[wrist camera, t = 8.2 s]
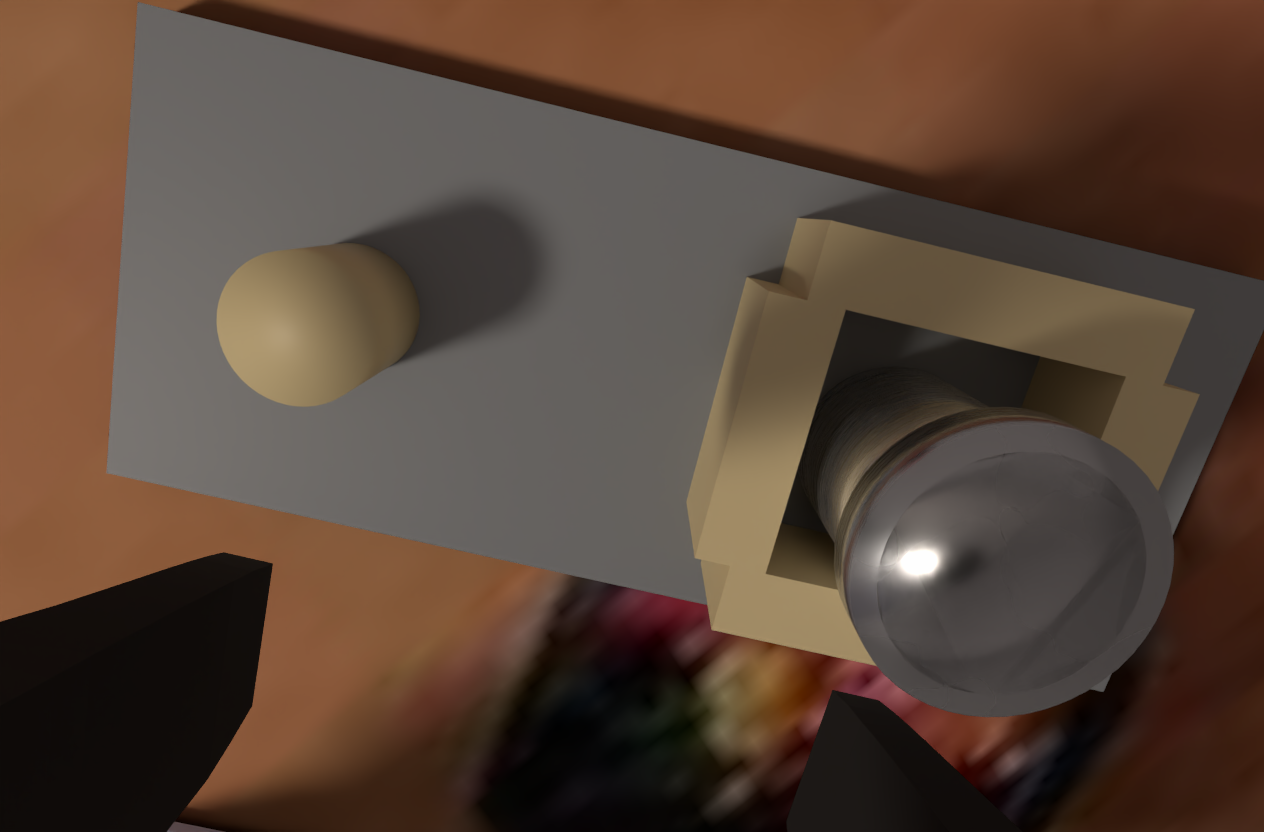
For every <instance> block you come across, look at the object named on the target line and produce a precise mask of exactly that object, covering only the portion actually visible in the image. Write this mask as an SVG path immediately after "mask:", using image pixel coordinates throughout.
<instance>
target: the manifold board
mask: <svg viewBox="0 0 1264 832" xmlns="http://www.w3.org/2000/svg"><path fill="white" fill-rule="evenodd" d="M1263 331H1264V281H1263V280H1258V279H1254V278H1250V277H1246V276H1242V275H1238V274H1234V273H1230V272H1226V271H1222V270H1218V269H1214V268H1210V267H1206V266H1202V265H1198V264H1194V263H1190V262H1186V261H1182V260H1178V259H1174V258H1170V257H1166V256H1162V255H1157V254H1153V253H1149V252H1145V251H1141V250H1137V249H1133V248H1129V247H1125V246H1121V245H1117V244H1113V243H1109V242H1105V241H1101V240H1097V239H1093V238H1089V237H1085V236H1081V235H1077V234H1073V233H1069V232H1065V231H1060V230H1056V229H1052V228H1048V227H1044V226H1040V225H1036V224H1032V223H1028V222H1024V221H1020V220H1016V219H1012V218H1008V217H1004V216H1000V215H996V214H992V213H988V212H984V211H980V210H976V209H972V208H968V207H964V206H959V205H955V204H951V203H947V202H943V201H939V200H935V199H931V198H927V197H923V196H919V195H915V194H911V193H907V192H903V191H899V190H895V189H891V188H887V187H883V186H879V185H875V184H871V183H867V182H862V181H858V180H854V179H850V178H846V177H842V176H838V175H834V174H830V173H826V172H822V171H818V170H814V169H810V168H806V167H802V166H798V165H794V164H790V163H786V162H782V161H778V160H774V159H770V158H766V157H761V156H757V155H753V154H749V153H745V152H741V151H737V150H733V149H729V148H725V147H721V146H717V145H713V144H709V143H705V142H701V141H697V140H693V139H689V138H685V137H681V136H677V135H673V134H669V133H665V132H660V131H656V130H652V129H648V128H644V127H640V126H636V125H632V124H628V123H624V122H620V121H616V120H612V119H608V118H604V117H600V116H596V115H592V114H588V113H584V112H580V111H576V110H572V109H568V108H563V107H559V106H555V105H551V104H547V103H543V102H539V101H535V100H531V99H527V98H523V97H519V96H515V95H511V94H507V93H503V92H499V91H495V90H491V89H487V88H483V87H479V86H475V85H471V84H467V83H462V82H458V81H454V80H450V79H446V78H442V77H438V76H434V75H430V74H426V73H422V72H418V71H414V70H410V69H406V68H402V67H398V66H394V65H390V64H386V63H382V62H378V61H374V60H370V59H365V58H361V57H357V56H353V55H349V54H345V53H341V52H337V51H333V50H329V49H325V48H321V47H317V46H313V45H309V44H305V43H301V42H297V41H293V40H289V39H285V38H281V37H277V36H273V35H269V34H264V33H260V32H256V31H252V30H248V29H244V28H240V27H236V26H232V25H228V24H224V23H220V22H216V21H212V20H208V19H204V18H200V17H196V16H192V15H188V14H184V13H180V12H176V11H172V10H167V9H163V8H159V7H155V6H151V5H147V4H143V3H139V2H138V7H137V22H136V37H135V52H134V67H133V82H132V97H131V112H130V127H129V142H128V158H127V173H126V188H125V203H124V218H123V233H122V248H121V263H120V278H119V293H118V308H117V323H116V338H115V353H114V368H113V384H112V399H111V414H110V429H109V444H108V459H107V473H109V474H114V475H118V476H123V477H127V478H132V479H136V480H141V481H146V482H150V483H155V484H159V485H164V486H168V487H173V488H177V489H182V490H187V491H191V492H196V493H200V494H205V495H209V496H214V497H218V498H223V499H227V500H232V501H237V502H241V503H246V504H250V505H255V506H259V507H264V508H268V509H273V510H278V511H282V512H287V513H291V514H296V515H300V516H305V517H309V518H314V519H319V520H323V521H328V522H332V523H337V524H341V525H346V526H350V527H355V528H360V529H364V530H369V531H373V532H378V533H382V534H387V535H391V536H396V537H401V538H405V539H410V540H414V541H419V542H423V543H428V544H432V545H437V546H441V547H446V548H451V549H455V550H460V551H464V552H469V553H473V554H478V555H482V556H487V557H492V558H496V559H501V560H505V561H510V562H514V563H519V564H523V565H528V566H533V567H537V568H542V569H546V570H551V571H555V572H560V573H564V574H569V575H574V576H578V577H583V578H587V579H592V580H596V581H601V582H605V583H610V584H615V585H619V586H624V587H628V588H633V589H637V590H642V591H646V592H651V593H656V594H660V595H665V596H669V597H674V598H678V599H683V600H687V601H692V602H696V603H701V604H706V605H708V610H709V617H710V623H711V629H712V630H715V631H719V632H724V633H728V634H733V635H738V636H742V637H747V638H751V639H756V640H761V641H765V642H770V643H774V644H779V645H783V646H788V647H793V648H797V649H802V650H806V651H811V652H816V653H820V654H825V655H829V656H834V657H838V658H843V659H848V660H852V661H857V662H861V663H866V664H871V665H875V666H877V665H876V664H875V663H874V662H873V660H872V659H871V657H870V655H869V654H868V652H867V651H866V649H865V647H864V646H863V644H862V642H861V640H860V638H859V636H858V634H857V632H856V630H855V628H854V626H853V624H852V622H851V620H850V618H849V616H848V615H847V613H846V610H845V608H844V605H843V603H842V601H841V598H840V595H839V592H838V588H837V584H836V579H835V570H834V545H835V544H834V542H833V540H832V539H831V537H830V535H829V533H828V532H827V530H826V528H825V526H824V525H823V523H822V521H821V520H820V518H819V516H818V514H817V513H816V511H815V509H814V508H813V506H812V504H811V502H810V501H809V499H808V497H807V496H806V494H805V492H804V489H803V487H802V484H801V481H800V477H799V473H798V465H799V462H800V459H801V456H802V452H803V449H804V446H805V442H806V439H807V436H808V433H809V429H810V426H811V423H812V419H813V416H814V413H815V409H816V406H817V403H818V402H819V401H820V400H821V399H822V398H823V397H824V396H825V395H826V394H827V393H828V392H829V391H830V390H831V389H832V388H834V387H835V386H836V385H838V384H839V383H840V382H842V381H844V380H846V379H847V378H849V377H851V376H853V375H856V374H858V373H860V372H863V371H866V370H870V369H873V368H879V367H886V366H902V367H911V368H915V369H919V370H923V371H925V372H928V373H931V374H933V375H935V376H937V377H938V378H940V379H942V380H944V381H945V382H947V383H949V384H951V385H952V386H954V387H956V388H957V389H959V390H961V391H962V392H964V393H966V394H968V395H969V396H971V397H973V398H974V399H976V400H978V401H980V402H981V403H983V404H985V405H986V406H988V407H1013V408H1024V409H1029V410H1033V411H1038V412H1042V413H1046V414H1048V415H1051V416H1054V417H1056V418H1059V419H1061V420H1064V421H1066V422H1068V423H1070V424H1072V425H1074V426H1076V427H1077V428H1079V429H1081V430H1083V431H1085V432H1087V433H1089V434H1091V435H1093V436H1095V437H1097V438H1099V439H1101V440H1103V441H1104V442H1106V443H1108V444H1110V445H1111V446H1113V447H1115V448H1117V449H1118V450H1120V451H1121V452H1122V453H1124V454H1125V455H1126V456H1127V457H1129V458H1130V459H1131V460H1133V461H1134V462H1135V463H1136V464H1137V465H1138V466H1139V468H1140V469H1141V470H1142V471H1143V472H1144V473H1145V474H1146V475H1147V476H1148V478H1149V479H1150V481H1151V482H1152V483H1153V485H1154V486H1155V488H1156V489H1157V491H1158V493H1159V495H1160V497H1161V499H1162V501H1163V503H1164V505H1165V507H1166V510H1167V514H1168V517H1169V521H1170V524H1171V528H1172V536H1173V534H1174V531H1175V529H1176V527H1177V525H1178V522H1179V520H1180V518H1181V516H1182V513H1183V511H1184V509H1185V507H1186V504H1187V502H1188V500H1189V498H1190V495H1191V493H1192V491H1193V489H1194V486H1195V484H1196V482H1197V480H1198V477H1199V475H1200V473H1201V471H1202V468H1203V466H1204V464H1205V462H1206V459H1207V457H1208V455H1209V453H1210V450H1211V448H1212V446H1213V443H1214V441H1215V439H1216V437H1217V434H1218V432H1219V430H1220V428H1221V425H1222V423H1223V421H1224V419H1225V416H1226V414H1227V412H1228V410H1229V407H1230V405H1231V403H1232V401H1233V398H1234V396H1235V394H1236V392H1237V389H1238V387H1239V385H1240V383H1241V380H1242V378H1243V376H1244V374H1245V371H1246V369H1247V367H1248V365H1249V362H1250V360H1251V358H1252V355H1253V353H1254V351H1255V349H1256V346H1257V344H1258V342H1259V340H1260V337H1261V335H1262V333H1263ZM1110 676H1111V675H1109V676H1108V677H1107V678H1106V679H1104V680H1103V681H1102V682H1100V683H1099V684H1097V685H1095V686H1094V687H1092V688H1091V689H1093V690H1097V691H1102V692H1104V689H1105V687H1106V685H1107V683H1108V680H1109V678H1110Z"/></svg>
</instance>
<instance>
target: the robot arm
mask: <svg viewBox="0 0 1264 832" xmlns="http://www.w3.org/2000/svg"><path fill="white" fill-rule="evenodd" d="M272 566H273V564H272V563H268V562H264V561H259V560H255V559H250V558H246V557H241V556H237V555H233V554H228V553H219V554H215V555H211V556H207V557H203V558H200V559H196V560H193V561H190V562H186V563H183V564H180V565H177V566H174V567H171V568H168V569H165V570H162V571H159V572H156V573H153V574H150V575H147V576H144V577H141V578H138V579H135V580H132V581H129V582H126V583H123V584H120V585H117V586H114V587H111V588H108V589H105V590H101V591H98V592H95V593H92V594H89V595H86V596H83V597H80V598H77V599H74V600H71V601H68V602H65V603H62V604H59V605H56V606H52V607H49V608H46V609H42V610H39V611H35V612H32V613H29V614H25V615H22V616H18V617H15V618H12V619H8V620H5V621H2V622H0V832H224V831H219V830H214V829H209V828H204V827H199V826H194V825H189V824H184V823H179V822H175V820H176V819H177V818H178V817H179V815H180V814H181V813H182V811H183V810H184V809H185V808H186V806H187V805H188V804H189V803H190V801H191V800H192V799H193V797H194V796H195V795H196V794H197V792H198V791H199V790H200V788H201V787H202V786H203V784H204V783H205V782H206V780H207V779H208V778H209V776H210V774H211V773H212V771H213V770H214V768H215V766H216V765H217V763H218V762H219V760H220V758H221V757H222V755H223V754H224V752H225V750H226V749H227V747H228V746H229V744H230V742H231V741H232V739H233V737H234V736H235V734H236V732H237V730H238V729H239V727H240V725H241V724H242V722H243V720H244V719H245V717H246V715H247V714H248V712H249V710H250V708H251V707H252V703H253V696H254V689H255V682H256V675H257V669H258V662H259V655H260V648H261V641H262V634H263V627H264V621H265V614H266V607H267V600H268V593H269V586H270V579H271V573H272ZM786 823H787V832H1023V831H1021V830H1020V829H1019V828H1018V827H1017V826H1016V825H1015V824H1014V823H1013V822H1011V821H1010V820H1009V819H1008V818H1007V817H1006V816H1005V815H1004V814H1003V813H1002V812H1001V811H999V810H998V809H997V808H996V807H995V806H994V805H993V804H992V803H991V802H990V801H989V800H988V799H987V798H986V797H984V796H983V795H982V794H981V793H980V792H979V791H978V790H977V789H976V788H975V787H974V786H973V785H972V784H971V783H970V782H968V781H967V780H966V779H965V778H964V777H963V776H962V775H961V774H960V773H959V772H958V771H957V770H956V769H955V768H954V767H953V766H952V765H950V764H949V763H948V762H947V761H946V760H945V759H944V758H943V757H942V756H941V755H940V754H939V753H938V752H937V751H936V750H935V749H934V748H932V747H931V746H930V745H929V744H928V743H927V742H926V741H925V740H924V739H923V738H922V737H921V736H920V735H919V734H917V733H916V732H915V731H914V730H913V729H912V728H911V727H910V726H909V725H908V724H906V723H905V722H904V721H903V720H902V719H901V718H900V717H899V716H897V715H896V714H895V713H894V712H893V711H891V710H890V709H889V708H888V707H886V706H885V705H884V704H882V703H881V702H880V701H878V700H874V699H870V698H865V697H861V696H857V695H852V694H848V693H843V692H839V691H834V690H832V693H831V696H830V699H829V702H828V705H827V707H826V710H825V713H824V716H823V719H822V722H821V724H820V727H819V730H818V733H817V736H816V739H815V741H814V744H813V747H812V750H811V753H810V756H809V758H808V761H807V764H806V767H805V770H804V773H803V775H802V778H801V781H800V784H799V787H798V789H797V792H796V795H795V798H794V801H793V804H792V806H791V809H790V812H789V815H788V818H787V821H786Z"/></svg>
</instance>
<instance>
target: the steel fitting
mask: <svg viewBox="0 0 1264 832" xmlns="http://www.w3.org/2000/svg"><path fill="white" fill-rule="evenodd" d="M798 473H799V477H800V481H801V484H802V487H803V489H804V492H805V494H806V496H807V497H808V499H809V501H810V502H811V504H812V506H813V508H814V509H815V511H816V513H817V514H818V516H819V518H820V520H821V521H822V523H823V525H824V526H825V528H826V530H827V532H828V533H829V535H830V537H831V539H832V540H833V542H834V544H835V545H834V570H835V579H836V584H837V588H838V592H839V595H840V598H841V601H842V603H843V605H844V608H845V610H846V613H847V615H848V616H849V618H850V620H851V622H852V624H853V626H854V628H855V630H856V632H857V634H858V636H859V638H860V640H861V642H862V644H863V646H864V647H865V649H866V651H867V652H868V654H869V655H870V657H871V659H872V660H873V662H874V663H875V664H876V665H877V666H878V668H879V669H880V670H881V671H882V672H883V674H884V675H885V676H886V677H888V678H889V679H890V680H891V681H892V682H893V683H894V684H895V685H897V686H898V687H899V688H901V689H902V690H903V691H905V692H906V693H908V694H909V695H911V696H912V697H914V698H916V699H918V700H920V701H922V702H924V703H926V704H928V705H931V706H934V707H937V708H940V709H942V710H945V711H949V712H953V713H958V714H963V715H969V716H980V717H1007V716H1014V715H1021V714H1028V713H1032V712H1036V711H1040V710H1044V709H1047V708H1050V707H1053V706H1055V705H1058V704H1061V703H1064V702H1066V701H1068V700H1070V699H1072V698H1074V697H1076V696H1078V695H1080V694H1082V693H1084V692H1086V691H1088V690H1089V689H1091V688H1092V687H1094V686H1095V685H1097V684H1099V683H1100V682H1102V681H1103V680H1104V679H1106V678H1107V677H1108V676H1109V675H1111V674H1112V673H1113V672H1114V671H1116V670H1117V669H1118V668H1119V667H1120V666H1121V665H1122V664H1123V663H1124V662H1125V661H1126V660H1127V659H1128V658H1129V657H1130V656H1131V655H1132V654H1133V653H1134V652H1135V651H1136V649H1137V648H1138V647H1139V645H1140V644H1141V643H1142V642H1143V640H1144V639H1145V638H1146V636H1147V635H1148V633H1149V632H1150V630H1151V628H1152V627H1153V625H1154V623H1155V622H1156V620H1157V618H1158V616H1159V613H1160V611H1161V609H1162V607H1163V605H1164V603H1165V599H1166V596H1167V593H1168V590H1169V586H1170V582H1171V576H1172V570H1173V560H1174V543H1173V536H1172V528H1171V524H1170V521H1169V517H1168V514H1167V510H1166V507H1165V505H1164V503H1163V501H1162V499H1161V497H1160V495H1159V493H1158V491H1157V489H1156V488H1155V486H1154V485H1153V483H1152V482H1151V481H1150V479H1149V478H1148V476H1147V475H1146V474H1145V473H1144V472H1143V471H1142V470H1141V469H1140V468H1139V466H1138V465H1137V464H1136V463H1135V462H1134V461H1133V460H1131V459H1130V458H1129V457H1127V456H1126V455H1125V454H1124V453H1122V452H1121V451H1120V450H1118V449H1117V448H1115V447H1113V446H1111V445H1110V444H1108V443H1106V442H1104V441H1103V440H1101V439H1099V438H1097V437H1095V436H1093V435H1091V434H1089V433H1087V432H1085V431H1083V430H1081V429H1079V428H1077V427H1076V426H1074V425H1072V424H1070V423H1068V422H1066V421H1064V420H1061V419H1059V418H1056V417H1054V416H1051V415H1048V414H1046V413H1042V412H1038V411H1033V410H1029V409H1024V408H1013V407H988V406H986V405H985V404H983V403H981V402H980V401H978V400H976V399H974V398H973V397H971V396H969V395H968V394H966V393H964V392H962V391H961V390H959V389H957V388H956V387H954V386H952V385H951V384H949V383H947V382H945V381H944V380H942V379H940V378H938V377H937V376H935V375H933V374H931V373H928V372H925V371H923V370H919V369H915V368H911V367H902V366H886V367H879V368H873V369H870V370H866V371H863V372H860V373H858V374H856V375H853V376H851V377H849V378H847V379H846V380H844V381H842V382H840V383H839V384H838V385H836V386H835V387H834V388H832V389H831V390H830V391H829V392H828V393H827V394H826V395H825V396H824V397H823V398H822V399H821V400H820V401H819V402H818V403H817V406H816V409H815V413H814V416H813V419H812V423H811V426H810V429H809V433H808V436H807V439H806V442H805V446H804V449H803V452H802V456H801V459H800V462H799V465H798Z"/></svg>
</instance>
